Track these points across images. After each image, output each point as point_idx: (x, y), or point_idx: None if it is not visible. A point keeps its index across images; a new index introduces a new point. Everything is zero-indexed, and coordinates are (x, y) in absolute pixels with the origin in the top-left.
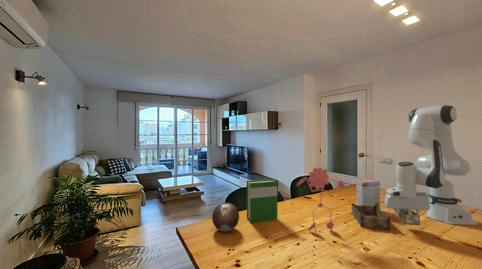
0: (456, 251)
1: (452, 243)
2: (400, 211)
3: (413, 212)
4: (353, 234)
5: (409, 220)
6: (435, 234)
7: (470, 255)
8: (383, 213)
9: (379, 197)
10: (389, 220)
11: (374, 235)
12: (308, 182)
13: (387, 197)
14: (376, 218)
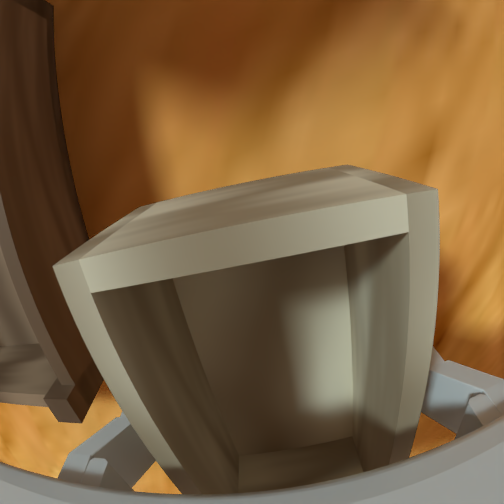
0: (422, 439)
1: (468, 364)
2: (177, 478)
3: (386, 463)
4: (4, 436)
5: (268, 484)
6: (460, 267)
7: (449, 438)
8: (2, 233)
9: None
10: (88, 397)
11: (64, 436)
12: None
13: None
14: (2, 398)
